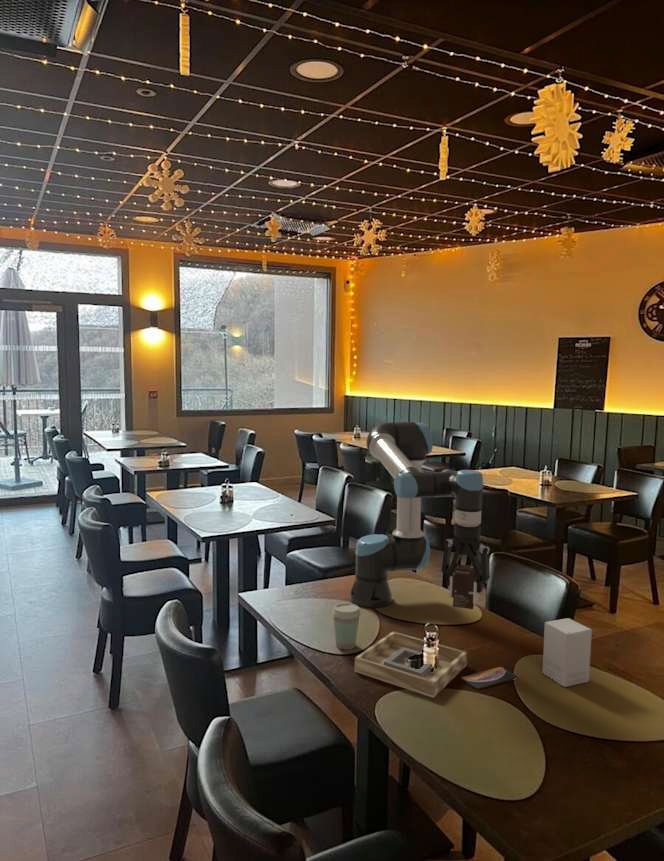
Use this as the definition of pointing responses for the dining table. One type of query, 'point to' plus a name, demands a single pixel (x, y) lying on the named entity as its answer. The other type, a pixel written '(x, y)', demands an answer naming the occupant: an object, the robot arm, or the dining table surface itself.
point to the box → (463, 586)
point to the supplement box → (567, 652)
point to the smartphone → (488, 678)
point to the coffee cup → (346, 624)
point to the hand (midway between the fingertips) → (463, 599)
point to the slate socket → (399, 656)
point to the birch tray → (390, 644)
